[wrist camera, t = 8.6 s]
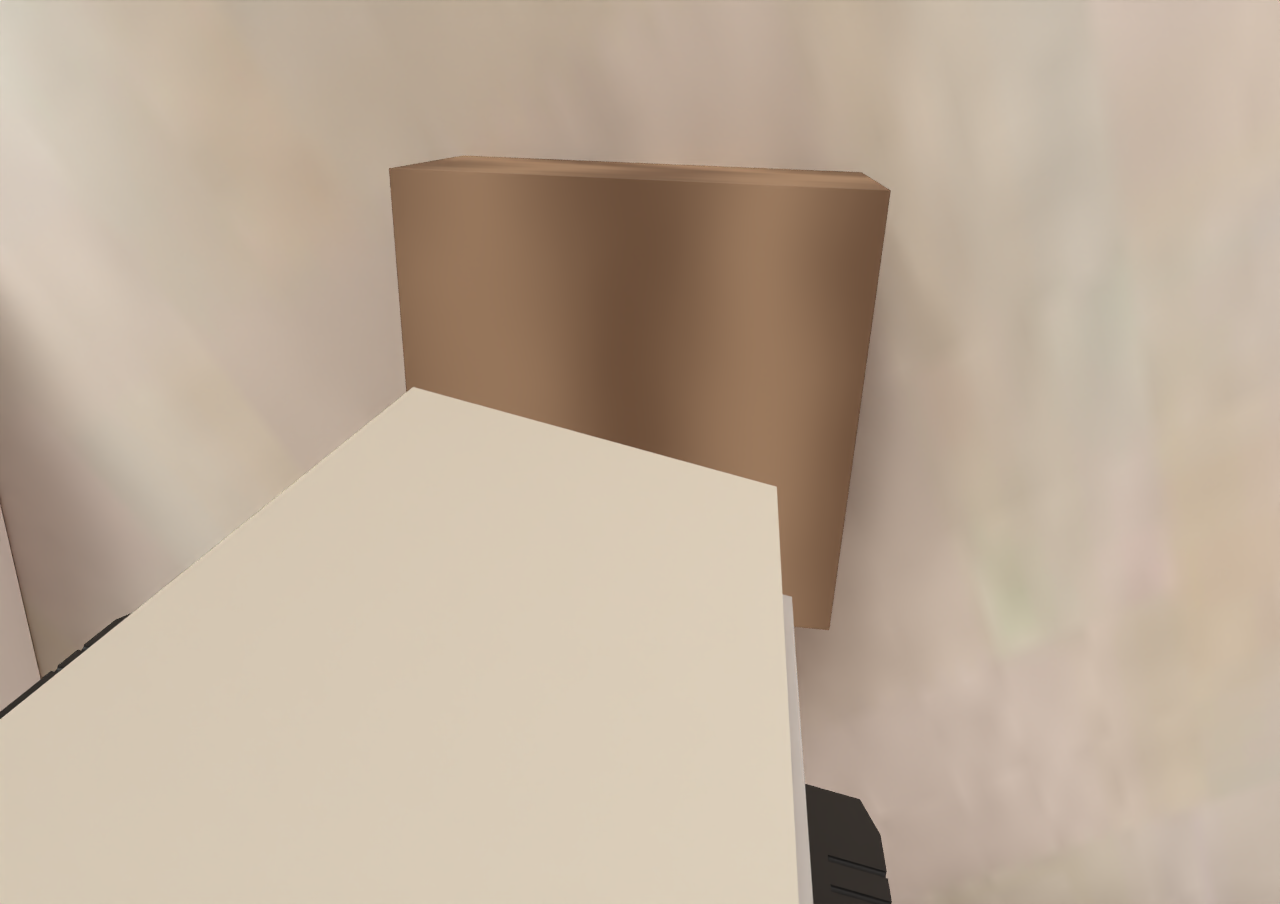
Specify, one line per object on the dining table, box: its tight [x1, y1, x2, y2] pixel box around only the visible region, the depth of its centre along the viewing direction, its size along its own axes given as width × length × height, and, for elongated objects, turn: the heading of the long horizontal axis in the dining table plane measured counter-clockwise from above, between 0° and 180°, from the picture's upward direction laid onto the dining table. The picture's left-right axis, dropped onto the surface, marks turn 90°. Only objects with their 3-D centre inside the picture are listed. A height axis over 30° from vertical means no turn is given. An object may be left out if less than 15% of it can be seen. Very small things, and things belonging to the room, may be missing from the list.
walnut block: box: [389, 156, 890, 630], centre depth 25 cm, size 12×12×6 cm
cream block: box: [0, 387, 799, 904], centre depth 10 cm, size 6×6×10 cm
